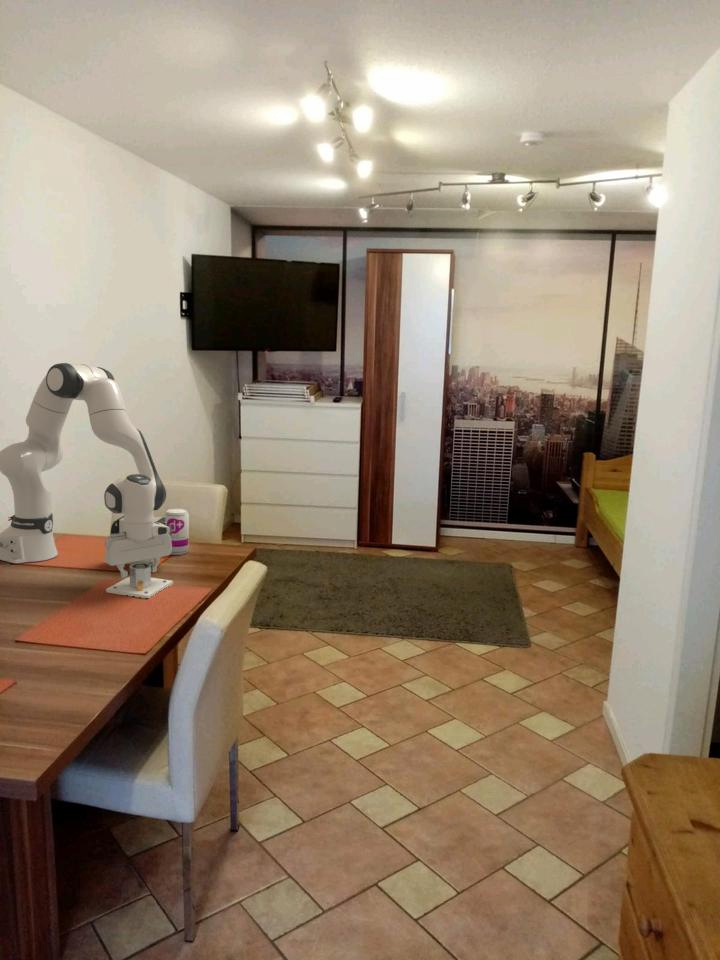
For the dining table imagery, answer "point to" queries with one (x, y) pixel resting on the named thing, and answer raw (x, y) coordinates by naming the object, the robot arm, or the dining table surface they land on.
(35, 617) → the dining table surface
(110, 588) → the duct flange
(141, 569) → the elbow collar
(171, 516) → the supplement can
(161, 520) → the ball valve
